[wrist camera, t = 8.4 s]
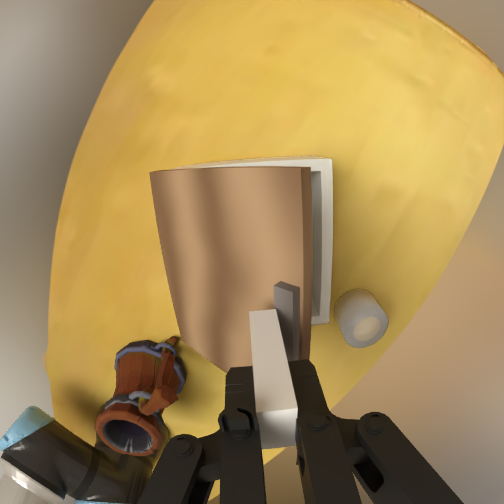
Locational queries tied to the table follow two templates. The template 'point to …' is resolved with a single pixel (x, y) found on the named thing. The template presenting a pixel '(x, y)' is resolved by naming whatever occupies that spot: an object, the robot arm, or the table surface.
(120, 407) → the mug
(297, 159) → the box
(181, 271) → the lid
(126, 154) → the table surface
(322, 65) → the table surface
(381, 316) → the grey squat drum
